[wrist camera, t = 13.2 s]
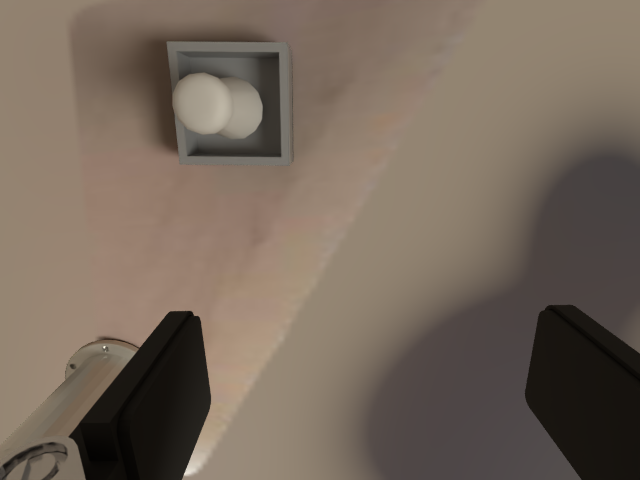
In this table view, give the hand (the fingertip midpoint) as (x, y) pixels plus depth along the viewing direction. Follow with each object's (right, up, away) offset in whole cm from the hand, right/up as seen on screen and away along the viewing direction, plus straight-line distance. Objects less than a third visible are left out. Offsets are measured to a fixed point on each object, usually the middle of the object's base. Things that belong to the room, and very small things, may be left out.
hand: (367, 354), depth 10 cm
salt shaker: (-10, +17, +28) cm, 35 cm away
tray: (-10, +17, +29) cm, 35 cm away
